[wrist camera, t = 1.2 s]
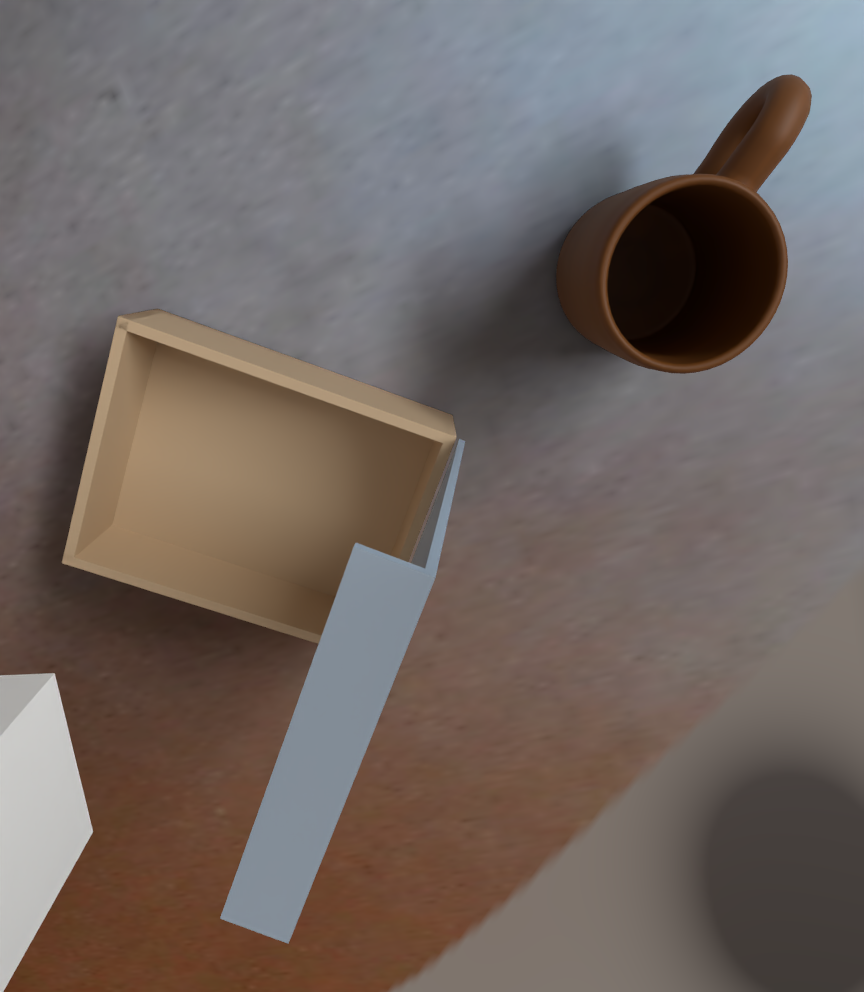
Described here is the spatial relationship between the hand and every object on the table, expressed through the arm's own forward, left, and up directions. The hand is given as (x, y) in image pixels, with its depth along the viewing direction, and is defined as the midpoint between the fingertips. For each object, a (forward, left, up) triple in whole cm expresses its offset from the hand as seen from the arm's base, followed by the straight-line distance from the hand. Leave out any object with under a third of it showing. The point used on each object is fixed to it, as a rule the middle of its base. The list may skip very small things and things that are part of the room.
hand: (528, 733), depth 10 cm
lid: (+1, -8, -16) cm, 18 cm away
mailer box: (-4, -10, -29) cm, 31 cm away
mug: (+1, +12, -30) cm, 32 cm away
